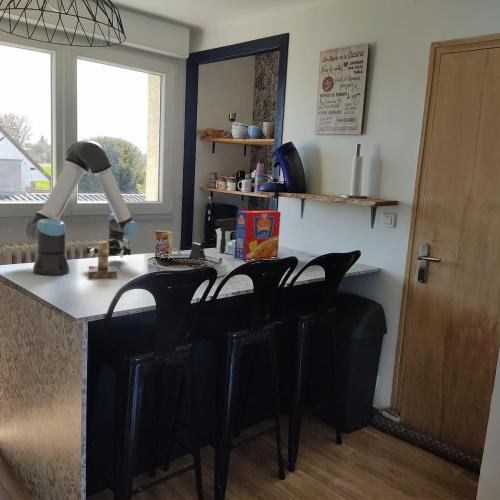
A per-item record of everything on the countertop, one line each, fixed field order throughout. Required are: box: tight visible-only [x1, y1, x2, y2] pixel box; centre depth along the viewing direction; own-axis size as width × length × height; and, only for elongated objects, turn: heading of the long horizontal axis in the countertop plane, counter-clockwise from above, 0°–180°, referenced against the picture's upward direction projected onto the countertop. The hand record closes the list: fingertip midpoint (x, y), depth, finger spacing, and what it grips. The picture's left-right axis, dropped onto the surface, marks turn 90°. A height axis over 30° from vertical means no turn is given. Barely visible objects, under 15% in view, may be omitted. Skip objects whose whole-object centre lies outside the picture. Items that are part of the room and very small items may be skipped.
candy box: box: [154, 230, 174, 257], centre depth 269 cm, size 9×4×15 cm, turn 72°
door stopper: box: [188, 241, 207, 260], centre depth 256 cm, size 9×6×12 cm, turn 135°
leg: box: [97, 241, 110, 270], centre depth 219 cm, size 5×5×15 cm
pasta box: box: [233, 210, 282, 262], centre depth 287 cm, size 28×8×28 cm, turn 134°
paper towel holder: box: [214, 217, 237, 254], centre depth 309 cm, size 16×21×33 cm
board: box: [88, 265, 118, 279], centre depth 220 cm, size 12×12×3 cm
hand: (106, 254), depth 224 cm, fingers open, 13 cm apart
